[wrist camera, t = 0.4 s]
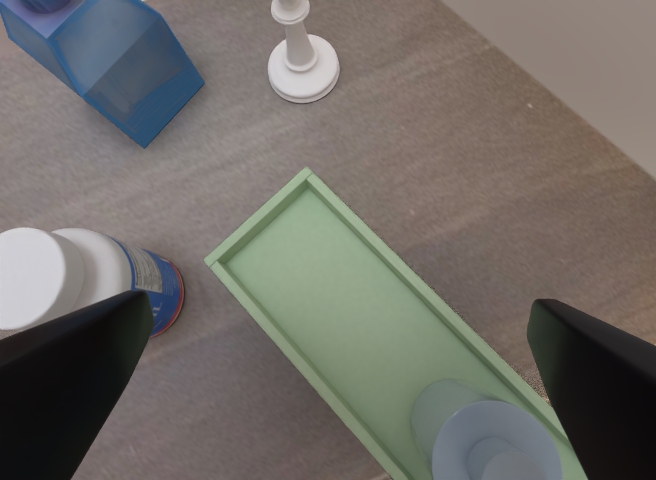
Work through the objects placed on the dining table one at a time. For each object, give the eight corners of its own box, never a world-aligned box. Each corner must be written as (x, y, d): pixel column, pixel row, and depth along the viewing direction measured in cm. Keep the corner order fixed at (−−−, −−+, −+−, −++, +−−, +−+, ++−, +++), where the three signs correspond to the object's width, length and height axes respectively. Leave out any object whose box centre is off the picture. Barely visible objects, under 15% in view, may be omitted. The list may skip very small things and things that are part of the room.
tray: (763, 627, 19) (813, 664, 17) (652, 765, 18) (690, 821, 16) (310, 178, 25) (306, 165, 23) (215, 265, 25) (202, 260, 23)
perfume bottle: (144, 38, 29) (-5, -161, 17) (204, 83, 27) (89, -97, 16) (84, 99, 28) (-115, -63, 16) (144, 148, 27) (-24, 11, 15)
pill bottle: (122, 357, 24) (-36, 379, 14) (91, 280, 25) (-73, 252, 15) (202, 312, 24) (99, 305, 14) (167, 238, 25) (51, 186, 16)
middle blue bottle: (516, 455, 21) (619, 540, 12) (431, 487, 21) (478, 594, 12) (477, 365, 22) (548, 389, 14) (396, 396, 22) (419, 439, 14)
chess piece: (326, 111, 26) (308, -15, 16) (258, 93, 27) (202, -38, 17) (348, 48, 27) (343, -106, 17) (282, 33, 28) (241, -124, 18)
